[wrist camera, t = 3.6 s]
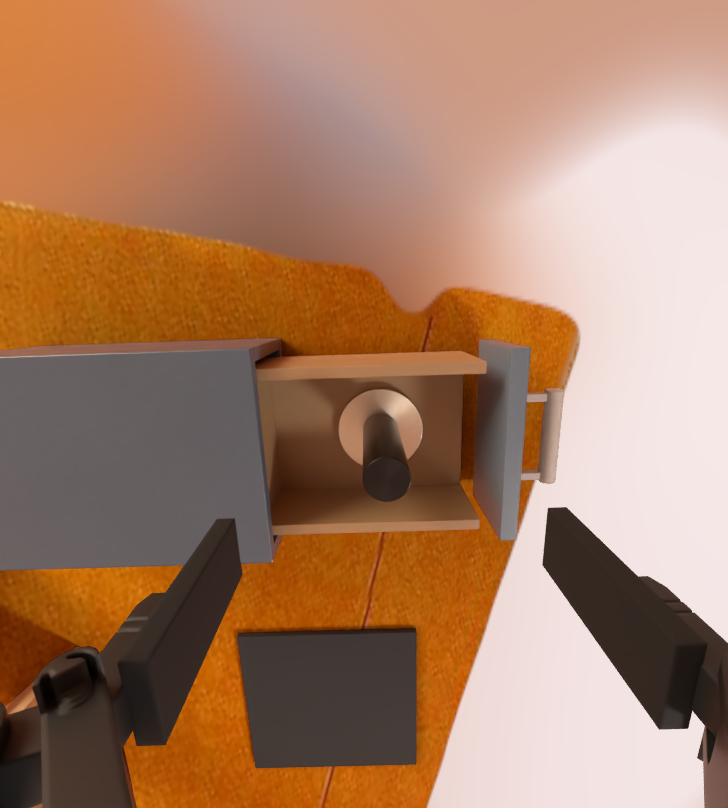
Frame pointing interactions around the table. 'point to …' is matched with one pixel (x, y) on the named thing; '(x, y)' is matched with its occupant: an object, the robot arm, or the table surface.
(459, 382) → the drawer
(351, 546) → the table surface
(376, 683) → the mat
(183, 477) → the cabinet
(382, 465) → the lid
